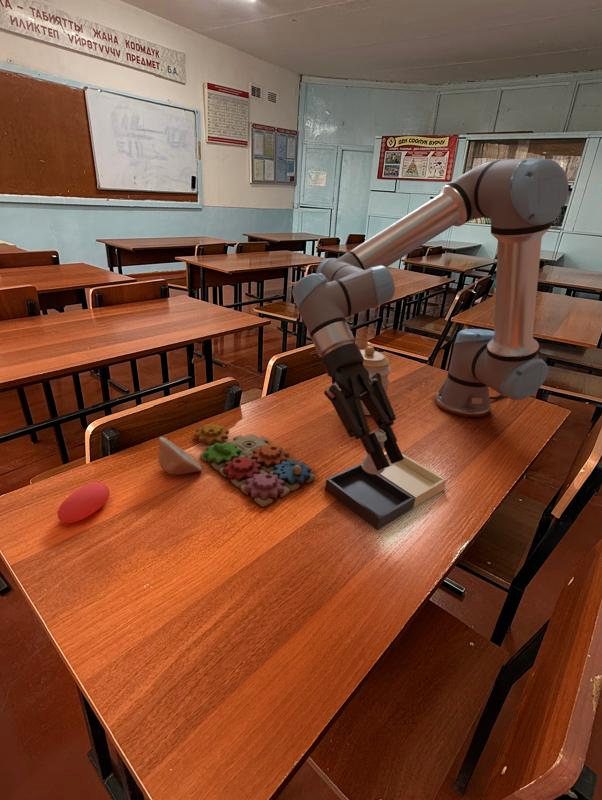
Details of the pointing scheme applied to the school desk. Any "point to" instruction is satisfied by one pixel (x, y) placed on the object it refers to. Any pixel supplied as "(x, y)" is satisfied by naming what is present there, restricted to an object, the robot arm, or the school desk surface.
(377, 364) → the jar
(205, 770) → the school desk surface
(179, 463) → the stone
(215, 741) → the school desk surface
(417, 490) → the light tray
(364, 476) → the dark tray
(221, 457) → the gear puzzle
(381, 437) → the rook chess piece
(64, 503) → the stress ball
